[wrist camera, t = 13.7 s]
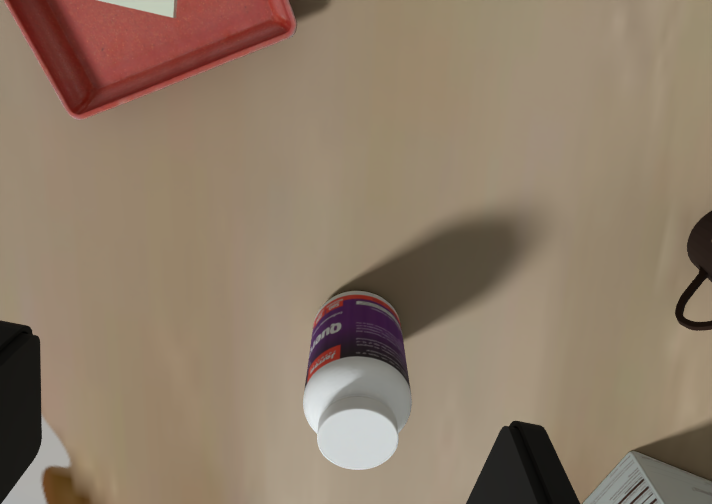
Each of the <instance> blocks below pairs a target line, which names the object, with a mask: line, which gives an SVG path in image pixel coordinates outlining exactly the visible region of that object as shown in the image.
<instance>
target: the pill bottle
mask: <svg viewBox="0 0 712 504" xmlns="http://www.w3.org/2000/svg"><path fill="white" fill-rule="evenodd" d="M411 406H412V399H411V391H410V385H409V378H408V371H407V364H406V357H405V350H404V344H403V337H402V329H401V324H400V320H399V317H398V314H397V313H396V311H395V309H394V308H393V307H392V305H391V304H390V303H389V302H387V301H386V300H385V299H383V298H382V297H380V296H378V295H376V294H373V293H370V292H365V291H348V292H344V293H341V294H338V295H336V296H334V297H332V298H331V299H329V300H328V301H327V302H326V303H325V304H324V305H323V306H322V307H321V308H320V310H319V311H318V313H317V315H316V318H315V321H314V326H313V332H312V340H311V347H310V355H309V362H308V369H307V376H306V383H305V391H304V398H303V407H304V412H305V416H306V418H307V421H308V423H309V424H310V426H311V427H312V429H313V430H314V431H315V432H316V433H317V442H318V446H319V449H320V451H321V452H322V454H323V455H324V456H325V457H326V458H327V459H328V460H329V461H330V462H332V463H334V464H335V465H338V466H340V467H343V468H347V469H354V470H362V469H369V468H373V467H376V466H378V465H380V464H382V463H384V462H385V461H387V460H388V459H389V458H390V457H391V456H392V455H393V453H394V452H395V450H396V448H397V445H398V433H399V432H400V431H401V430H402V428H403V427H404V425H405V424H406V422H407V420H408V418H409V415H410V412H411Z"/></svg>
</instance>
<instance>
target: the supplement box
mask: <svg viewBox="0 0 712 504" xmlns="http://www.w3.org/2000/svg"><path fill="white" fill-rule="evenodd" d="M583 504H712V482H711V481H709V480H706V479H704V478H701V477H699V476H696V475H694V474H691V473H689V472H686V471H684V470H681V469H679V468H676V467H674V466H671V465H669V464H666V463H664V462H661V461H659V460H656V459H654V458H651V457H649V456H646V455H644V454H641V453H639V452H636V451H631V452H629V453H628V454H627V455H626V456H625V457H624V458H623V459H622V460H621V461H620V463H619V464H618V465H617V466H616V467H615V468H614V469H613V470H612V471H611V473H610V474H609V475H608V476H607V477H606V478H605V479H604V480H603V481H602V482H601V484H600V485H599V486H598V487H597V488H596V489H595V490H594V491H593V492H592V494H591V495H590V496H589V497H588V498H587V499H586V500H585V501H584V502H583Z"/></svg>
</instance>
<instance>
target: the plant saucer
mask: <svg viewBox="0 0 712 504" xmlns="http://www.w3.org/2000/svg"><path fill="white" fill-rule="evenodd" d="M3 1H4V2H5V4H6V6H7V7H8V9H9V11H10V13H11V15H12V16H13V18H14V20H15V22H16V23H17V25H18V26H19V28H20V30H21V32H22V34H23V36H24V38H25V39H26V41H27V43H28V44H29V46H30V48H31V50H32V51H33V53H34V55H35V57H36V59H37V60H38V62H39V64H40V66H41V67H42V69H43V70H44V72H45V75H46V76H47V78H48V80H49V82H50V83H51V85H52V87H53V89H54V90H55V92H56V94H57V96H58V98H59V99H60V101H61V103H62V105H63V107H64V108H65V110H66V111H67V113H68V114H69V115H70V116H71V117H73V118H75V119H77V120H82V119H85V118H88V117H91V116H93V115H96V114H98V113H101V112H103V111H106V110H109V109H112V108H114V107H117V106H119V105H122V104H124V103H127V102H129V101H132V100H135V99H137V98H140V97H142V96H145V95H147V94H150V93H152V92H155V91H158V90H161V89H163V88H165V87H167V86H169V85H172V84H175V83H178V82H180V81H182V80H185V79H188V78H190V77H192V76H195V75H198V74H200V73H203V72H205V71H208V70H210V69H212V68H215V67H217V66H220V65H222V64H225V63H227V62H230V61H232V60H235V59H237V58H240V57H243V56H245V55H248V54H250V53H253V52H255V51H258V50H260V49H263V48H265V47H268V46H271V45H273V44H276V43H278V42H281V41H283V40H286V39H288V38H290V37H292V36H293V35H294V34H295V32H296V29H297V22H296V18H295V16H294V13H293V10H292V7H291V4H290V2H289V0H177V12H176V18H172V17H168V16H163V15H159V14H154V13H150V12H146V11H141V10H137V9H133V8H128V7H124V6H120V5H115V4H111V3H106V2H102V1H98V0H3Z"/></svg>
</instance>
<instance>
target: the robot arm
mask: <svg viewBox="0 0 712 504" xmlns="http://www.w3.org/2000/svg"><path fill="white" fill-rule="evenodd" d="M41 439H42V430H41V369H40V339H39V337H38V336H36V335H33V334H32V330H31V328H30V327H29V326H26V325H21V324H16V323H10V322H5V321H0V504H1V503H2V502H3V500H4V499H5V498H6V496H7V495H8V494H9V492H10V491H11V490H12V488H13V487H14V486H15V484H16V483H17V481H18V480H19V479H20V477H21V476H22V475H23V473H24V472H25V471H26V469H27V468H28V467H29V465H30V464H31V463H32V461H33V460H34V458H35V457H36V455H37V453H38V451H39V448H40V445H41ZM466 504H580V503H579V500H578V498H577V496H576V494H575V492H574V490H573V488H572V485H571V483H570V481H569V479H568V477H567V475H566V473H565V471H564V468H563V466H562V464H561V462H560V460H559V458H558V456H557V454H556V451H555V449H554V447H553V445H552V443H551V441H550V439H549V436H548V434H547V432H546V430H545V429H544V427H542V426H540V425H535V424H530V423H525V422H520V421H513V422H512V423H511V424H510V426H509V427H508V426H504V427H503V428H502V429H501V431H500V433H499V435H498V437H497V439H496V441H495V443H494V445H493V447H492V450H491V452H490V454H489V456H488V458H487V460H486V462H485V464H484V467H483V469H482V471H481V473H480V475H479V477H478V479H477V482H476V484H475V486H474V488H473V490H472V492H471V494H470V496H469V499H468V501H467V503H466Z"/></svg>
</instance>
